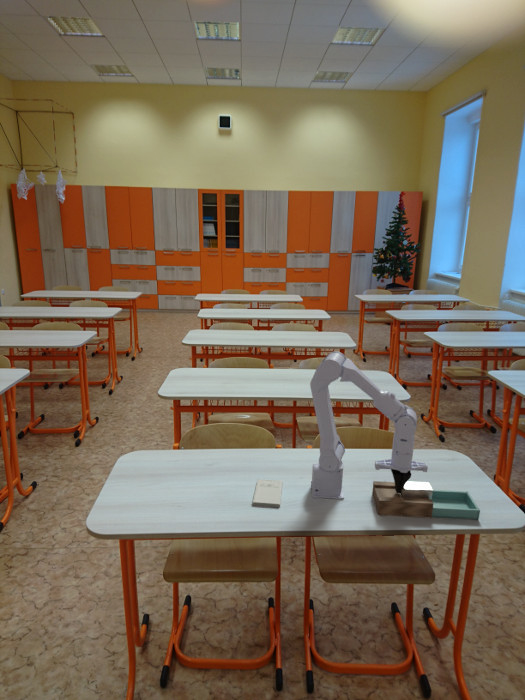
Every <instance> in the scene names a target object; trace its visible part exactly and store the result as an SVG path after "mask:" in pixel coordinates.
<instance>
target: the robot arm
mask: <svg viewBox="0 0 525 700" xmlns="http://www.w3.org/2000/svg"><path fill="white" fill-rule="evenodd" d="M338 379H340V380H339V382H346V383H347V382H349V383H350V382H351V383H352V384H353V385H354V386H356V387H357V388H359V389H360V390H361V391H362V392H363V393H365V394H366V395H367V396H368V397H370V398H371V399H372V402H373V403H372V405H373V406H374V407H375V408H376V409H377V410H378V411H379V412H381V414H383V415H384V416H385V417H386V418H387V419H389V420H390V422H392V423H393V426H394V429H395V430H394V433H393V439H392V449H391V458H389V459H387V458H386V459H380V460H374V468H375V470H377V471H379V470H390V471H391V474H392V478H393V482H395V490H396V493H401V492H402V489H403V487H404V485H405V484H406V482H409V480H410V479H411V477H412V472H411V471H417V472H418V471H419V472H423V473H428V468H429V467H428V464H427V463H426V462H421V461H416V460H413V455H414V449H415V448H414V447H415V439H416V431H417V428H418V426H417V421H418V416H417V413H416V411H415V410H414V408H413V407H411V406H409V405H407V404H404V403H402V402H401V401H400V400H399V399H398V398H397V397H396V394H395V393H394V392H393V391H391V392H390V391H389V390H384V389H383V390H382V389H380V388H379V387H378V386H377V384H375V383H374V382H373V381H372V380H371V379H370V378H369V377H368V376H367V375H366V374H365V373H364V372H363V371H362V370H361V369H360V368H359V367H357V365H356V364H355V363H354V362H353V361H352V360H351V359H350V358H348V357H346V355H345V354H344V353H342V352H340V351H331V352H329V353H328V354H327V355H325V357H324V358H323V359H322V360H321V362H320V363H319V365H318V366H317V367H316V369H315V372H314V374H313V376H312V378H311V380H310V384H309V387H310V390H311V396H312V400H313V406H314V411H315V417H316V423H317V427H318V432H319V437H320V441H319V442H320V444H319V454H320V455H319V457H318V463H314V464H312V473H311V481H310V487H311V491H312V493H311V494H312V495H311V496H312V497H313V498H317V499H319V498H321V499H338V500H344V498H345V495H344V490H343V477H344V475H343V473H344V463H343V461H342V458H343V457H344V455H345V453H346V449H345V445H344V444H343V443H342V441H341V437H340V436H339V434H338V432H337V428H336V427H337V426H336V422H335V417H334V410H333V407H332V405H333V404H332V400H331V395H330V389H329V386H330V385H331V383H333V382H335V381H336V380H338Z"/></svg>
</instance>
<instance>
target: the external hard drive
mask: <svg viewBox="0 0 525 700" xmlns="http://www.w3.org/2000/svg"><path fill="white" fill-rule="evenodd" d="M283 485H284V481H283V480H273V479H257V482H256V486H255V490H254V496H253V500H252V506H262V507H272V508H273V507H274V508H281V504H282V503H281V502H282V493H283Z"/></svg>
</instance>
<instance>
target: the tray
mask: <svg viewBox="0 0 525 700" xmlns="http://www.w3.org/2000/svg"><path fill="white" fill-rule="evenodd" d="M431 500H432V502H433V510H432V518H440V517H442V519H459V520H460V519H461V520H462V519H463V520H479V519H480V513H481V510H480V508H479V507H478V505H477V504H476V502H475V501H474V499H473V497H472V496H471V494H470V493H469V491H462V490H461V491H460V490H444V489H443V490H442V489H441V490H440V489H433V493H432V499H431Z"/></svg>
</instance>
